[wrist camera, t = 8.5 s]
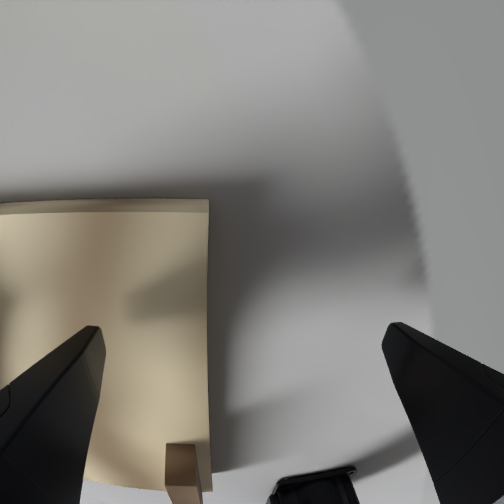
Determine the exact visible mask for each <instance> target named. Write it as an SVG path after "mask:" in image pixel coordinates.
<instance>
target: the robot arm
mask: <svg viewBox="0 0 504 504" xmlns="http://www.w3.org/2000/svg"><path fill="white" fill-rule="evenodd" d="M382 350H383V353H384V356H385V359H386V362H387V365H388V368H389V371H390V374H391V377H392V380H393V383H394V386H395V388H396V391H397V393H398V395H399V397H400V400H401V402H402V404H403V407H404V409H405V411H406V414H407V416H408V418H409V421H410V423H411V426H412V428H413V431H414V433H415V436H416V438H417V441H418V443H419V446H420V448H421V451H422V453H423V456H424V459H425V461H426V464H427V467H428V469H429V472H430V475H431V477H432V480H433V483H434V487H435V489H436V492H437V495H438V498H439V501H440V504H504V374H502V373H500V372H498V371H496V370H494V369H492V368H490V367H488V366H486V365H484V364H481V363H480V362H478V361H476V360H474V359H473V358H471V357H469V356H466V355H465V354H463V353H461V352H459V351H457V350H455V349H453V348H451V347H449V346H447V345H445V344H443V343H441V342H439V341H437V340H435V339H434V338H432V337H430V336H428V335H426V334H424V333H422V332H420V331H418V330H416V329H414V328H412V327H410V326H408V325H406V324H404V323H402V322H394V323H391V324H389V326H388V328H387V331H386V333H385V336H384V338H383V341H382ZM105 359H106V346H105V342H104V338H103V334H102V330H101V328H100V327H99V326H92V325H87V326H85V327H84V328H82V329H81V330H80V331H78V332H77V333H76V334H74V335H73V336H71V337H70V338H69V339H67V340H66V341H65V342H63V343H62V344H60V345H59V346H58V347H56V348H55V349H54V350H52V351H51V352H50V353H48V354H47V355H46V356H44V357H43V358H42V359H40V360H39V361H38V362H36V363H35V364H34V365H32V366H31V367H30V368H28V369H27V370H26V371H24V372H23V373H22V374H20V375H19V376H18V377H17V378H15V379H14V380H13V381H11V382H10V383H9V385H8V384H7V385H6V386H5V387H3V388H2V389H1V390H0V504H79V503H80V496H81V489H82V483H83V476H84V470H85V465H86V459H87V454H88V449H89V444H90V439H91V434H92V430H93V425H94V421H95V416H96V412H97V408H98V404H99V399H100V393H101V386H102V379H103V372H104V365H105ZM356 472H357V469H356V467H349V468H345V469H341V470H336V471H332V472H327V473H322V474H317V475H311V476H306V477H300V478H293V479H286V480H281V481H278V482H277V483H276V485H275V488H274V490H273V493H272V494H271V495H270V496H269V498H268V500H267V503H266V504H360V503H359V500H358V498H357V495H356V492H355V490H354V487H353V484H352V482H351V478H352V477H353V476H354V475H355V473H356Z"/></svg>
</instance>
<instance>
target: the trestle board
mask: <svg viewBox="0 0 504 504" xmlns="http://www.w3.org/2000/svg"><path fill="white" fill-rule="evenodd" d="M208 224H209V199H78V200H50V201H30V202H13V203H0V390H1V389H2V388H3V387H5V386H6V385H7V384H8V385H9V383H10V382H11V381H13V380H14V379H15V378H17V377H18V376H19V375H20V374H22V373H23V372H24V371H26V370H27V369H28V368H30V367H31V366H32V365H34V364H35V363H36V362H38V361H39V360H40V359H42V358H43V357H44V356H46V355H47V354H48V353H50V352H51V351H52V350H54V349H55V348H56V347H58V346H59V345H60V344H62V343H63V342H65V341H66V340H67V339H69V338H70V337H71V336H73V335H74V334H76V333H77V332H78V331H80V330H81V329H82V328H84V327H85V326H87V325H92V326H99V327H100V328H101V330H102V334H103V338H104V342H105V346H106V359H105V365H104V372H103V379H102V386H101V393H100V399H99V404H98V408H97V412H96V416H95V421H94V425H93V430H92V434H91V439H90V444H89V449H88V454H87V459H86V465H85V470H84V476H83V479H84V480H89V481H94V482H99V483H104V484H110V485H116V486H123V487H130V488H139V489H148V490H160V491H167V492H168V495H169V497H170V499H171V501H172V503H173V504H203V500H202V492H213V488H212V473H211V456H210V436H209V411H208V374H207V262H208Z"/></svg>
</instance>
